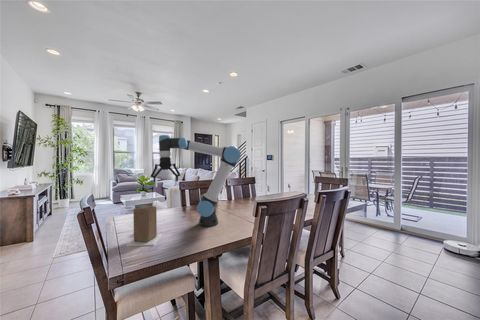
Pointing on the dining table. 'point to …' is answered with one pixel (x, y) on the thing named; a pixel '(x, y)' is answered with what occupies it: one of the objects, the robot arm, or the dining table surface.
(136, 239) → the wooden block
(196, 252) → the dining table surface
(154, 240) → the shallow square tray
